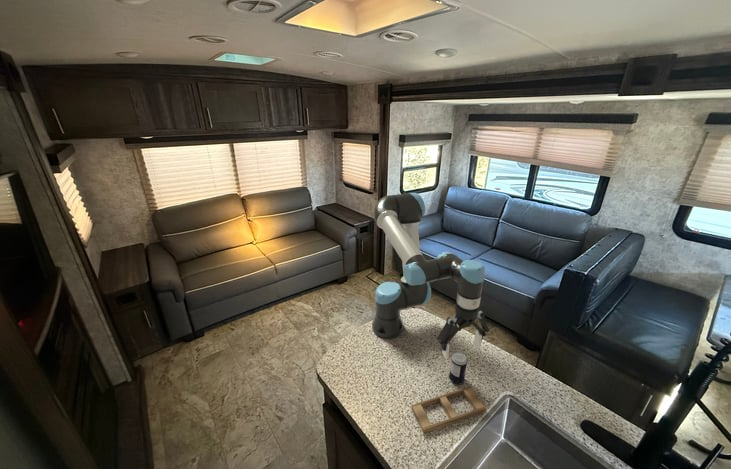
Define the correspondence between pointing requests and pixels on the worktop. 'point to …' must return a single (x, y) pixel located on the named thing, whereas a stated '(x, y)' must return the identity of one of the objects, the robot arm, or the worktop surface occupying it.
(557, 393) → the worktop surface
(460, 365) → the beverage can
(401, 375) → the worktop surface
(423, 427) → the wooden frame
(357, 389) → the worktop surface
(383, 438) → the worktop surface
